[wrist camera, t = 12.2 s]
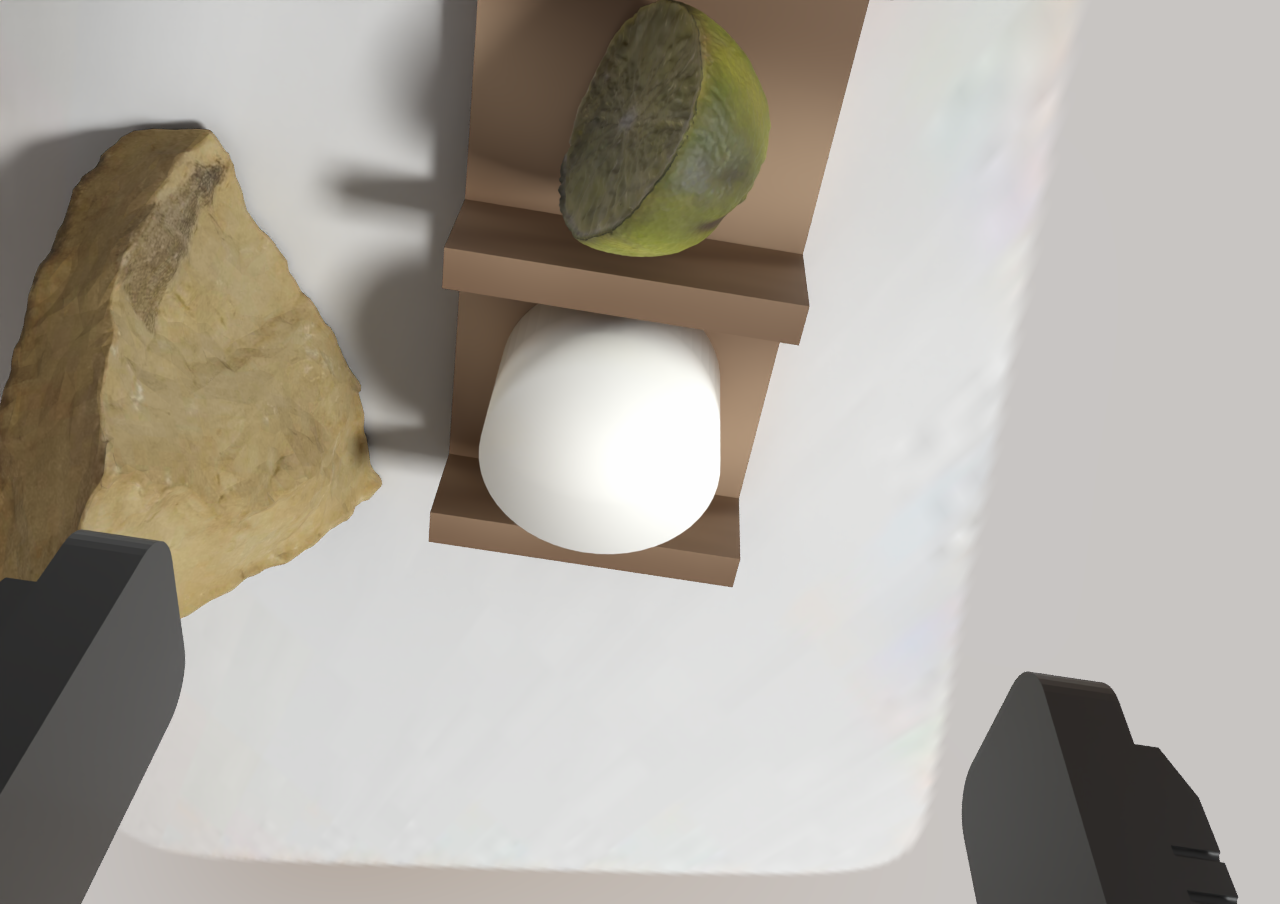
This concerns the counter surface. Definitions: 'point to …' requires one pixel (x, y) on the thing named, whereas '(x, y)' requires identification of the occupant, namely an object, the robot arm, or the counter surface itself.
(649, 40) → the lime
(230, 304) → the rock
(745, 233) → the rack
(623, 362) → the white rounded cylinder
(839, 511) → the counter surface
